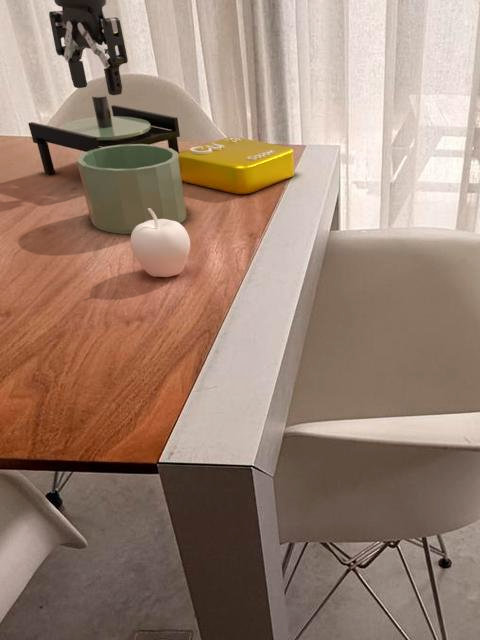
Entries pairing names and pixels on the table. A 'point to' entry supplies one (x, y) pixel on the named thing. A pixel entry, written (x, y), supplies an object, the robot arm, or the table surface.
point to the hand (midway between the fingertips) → (98, 91)
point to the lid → (107, 123)
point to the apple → (160, 246)
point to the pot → (131, 186)
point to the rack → (87, 143)
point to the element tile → (236, 165)
